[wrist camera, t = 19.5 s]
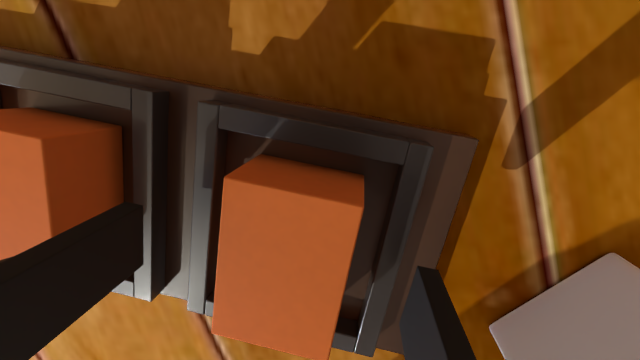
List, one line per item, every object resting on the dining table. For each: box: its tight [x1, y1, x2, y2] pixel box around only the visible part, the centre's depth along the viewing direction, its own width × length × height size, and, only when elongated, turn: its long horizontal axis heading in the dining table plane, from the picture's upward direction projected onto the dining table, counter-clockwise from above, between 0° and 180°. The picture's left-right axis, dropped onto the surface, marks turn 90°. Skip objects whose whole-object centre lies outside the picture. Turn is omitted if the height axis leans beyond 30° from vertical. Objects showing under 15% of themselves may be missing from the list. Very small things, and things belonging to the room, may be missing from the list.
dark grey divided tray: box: [0, 46, 479, 357], centre depth 16 cm, size 26×12×3 cm, turn 81°
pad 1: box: [0, 107, 124, 260], centre depth 14 cm, size 5×7×4 cm
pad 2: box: [211, 154, 364, 360], centre depth 13 cm, size 5×7×4 cm
